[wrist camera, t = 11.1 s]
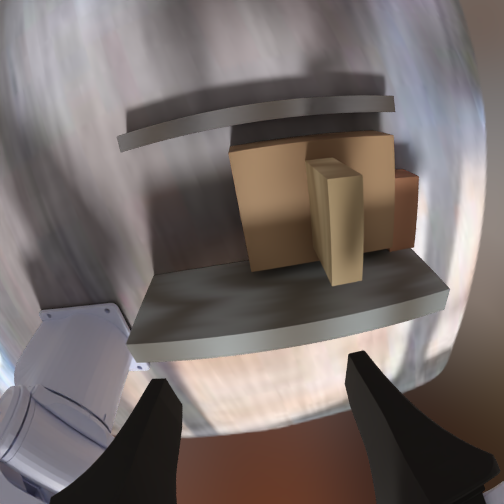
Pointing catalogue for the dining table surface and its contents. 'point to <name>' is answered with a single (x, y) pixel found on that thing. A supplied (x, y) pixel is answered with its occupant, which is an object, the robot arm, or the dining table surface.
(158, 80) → the dining table surface
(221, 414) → the dining table surface
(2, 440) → the robot arm
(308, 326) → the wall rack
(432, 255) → the dining table surface
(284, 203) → the tan box with handle
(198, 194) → the dining table surface
